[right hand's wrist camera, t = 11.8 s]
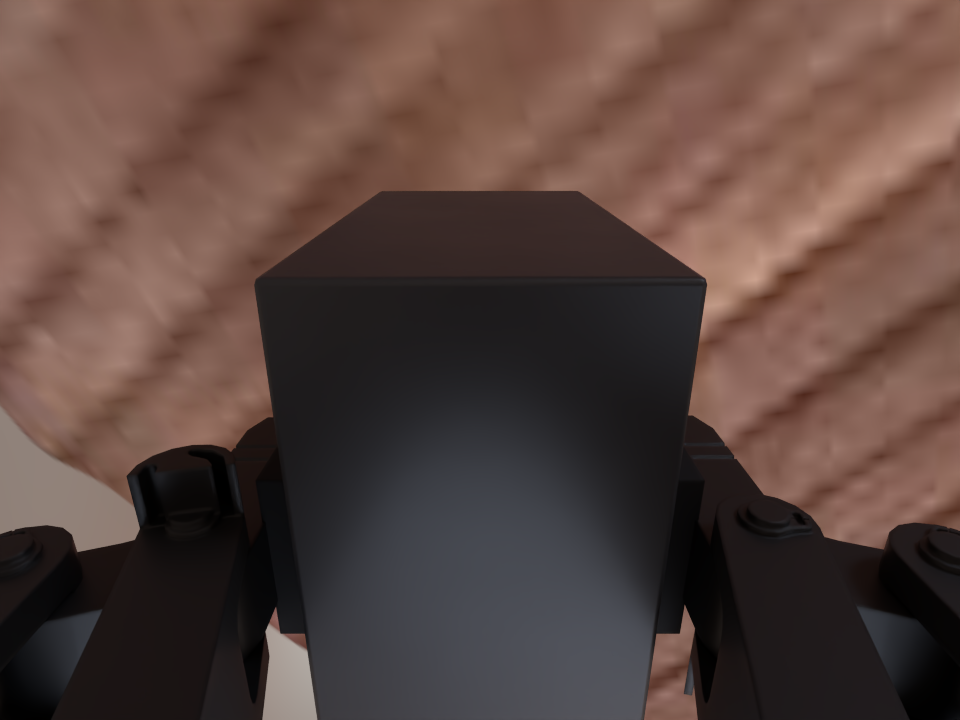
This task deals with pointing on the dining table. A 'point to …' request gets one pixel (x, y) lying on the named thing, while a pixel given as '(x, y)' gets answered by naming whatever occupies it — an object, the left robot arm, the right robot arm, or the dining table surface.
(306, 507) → the bar
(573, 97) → the dining table surface
